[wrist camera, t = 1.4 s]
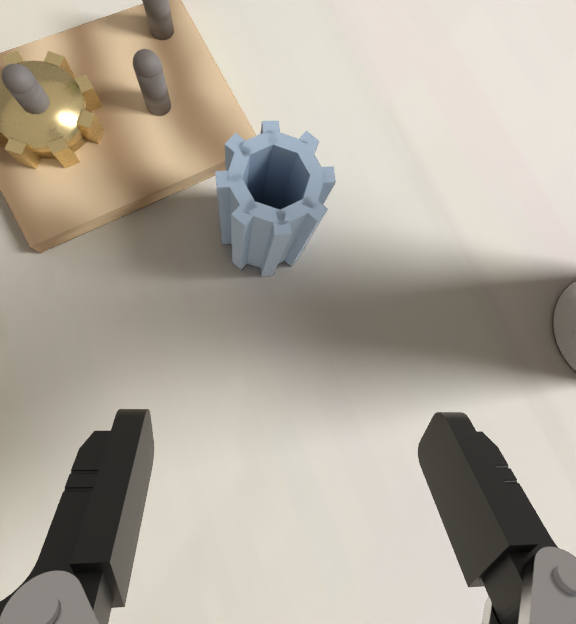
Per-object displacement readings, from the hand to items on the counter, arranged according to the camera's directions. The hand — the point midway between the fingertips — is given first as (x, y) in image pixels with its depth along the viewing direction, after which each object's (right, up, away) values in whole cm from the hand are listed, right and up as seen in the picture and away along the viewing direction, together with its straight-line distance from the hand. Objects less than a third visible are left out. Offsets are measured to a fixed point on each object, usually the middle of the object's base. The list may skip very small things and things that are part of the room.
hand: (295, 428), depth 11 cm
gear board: (-14, +18, +19) cm, 30 cm away
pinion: (-2, +9, +20) cm, 22 cm away
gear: (-17, +17, +17) cm, 30 cm away
